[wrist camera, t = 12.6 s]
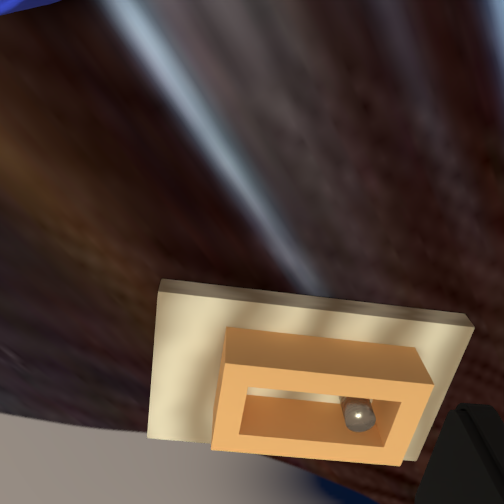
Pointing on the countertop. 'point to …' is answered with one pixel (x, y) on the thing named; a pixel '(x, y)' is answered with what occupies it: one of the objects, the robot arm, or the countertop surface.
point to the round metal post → (357, 413)
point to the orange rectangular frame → (320, 382)
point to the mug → (21, 5)
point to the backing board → (284, 321)
